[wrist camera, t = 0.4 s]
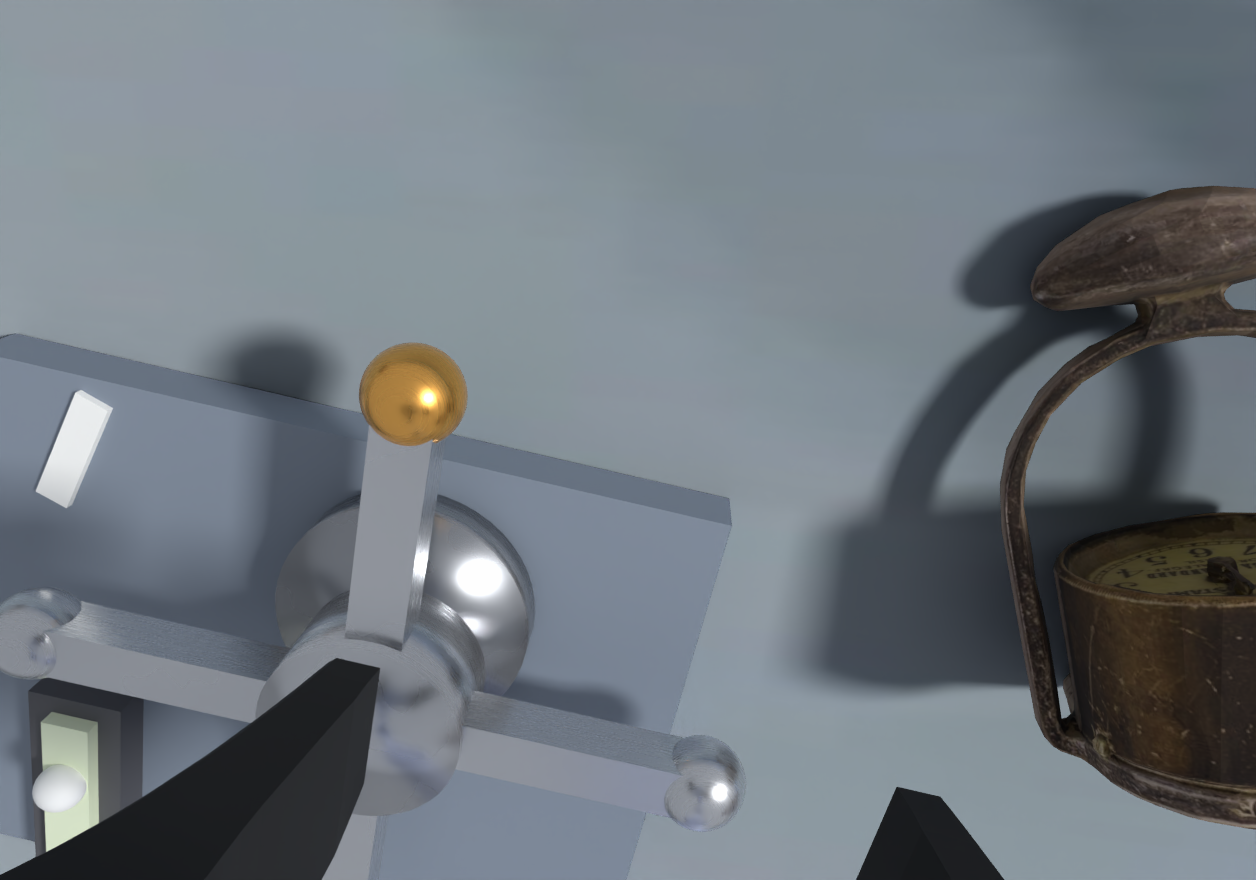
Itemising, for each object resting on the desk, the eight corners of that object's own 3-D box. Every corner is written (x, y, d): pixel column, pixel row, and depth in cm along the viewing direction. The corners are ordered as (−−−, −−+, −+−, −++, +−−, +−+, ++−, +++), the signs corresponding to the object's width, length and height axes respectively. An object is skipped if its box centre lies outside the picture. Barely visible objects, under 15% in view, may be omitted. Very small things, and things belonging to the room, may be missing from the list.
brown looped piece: (907, 827, 18) (1461, 1000, 16) (1127, 214, 12) (2046, 354, 10) (911, 624, 24) (1311, 729, 22) (1060, 154, 19) (1620, 231, 16)
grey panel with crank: (601, 933, 27) (588, 1054, 24) (37, 807, 27) (-59, 910, 23) (729, 498, 21) (736, 573, 18) (15, 333, 21) (-117, 377, 18)
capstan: (661, 949, 25) (655, 1080, 22) (79, 819, 25) (-18, 931, 21) (842, 404, 19) (874, 470, 15) (65, 223, 18) (-75, 249, 15)
